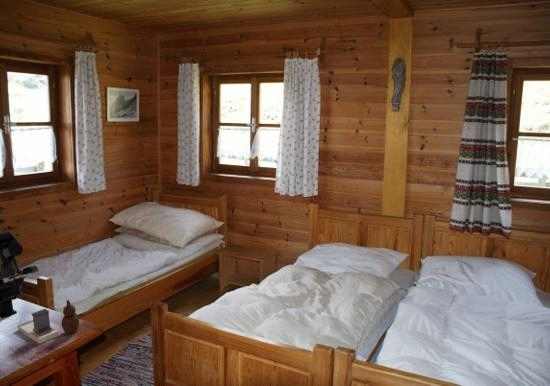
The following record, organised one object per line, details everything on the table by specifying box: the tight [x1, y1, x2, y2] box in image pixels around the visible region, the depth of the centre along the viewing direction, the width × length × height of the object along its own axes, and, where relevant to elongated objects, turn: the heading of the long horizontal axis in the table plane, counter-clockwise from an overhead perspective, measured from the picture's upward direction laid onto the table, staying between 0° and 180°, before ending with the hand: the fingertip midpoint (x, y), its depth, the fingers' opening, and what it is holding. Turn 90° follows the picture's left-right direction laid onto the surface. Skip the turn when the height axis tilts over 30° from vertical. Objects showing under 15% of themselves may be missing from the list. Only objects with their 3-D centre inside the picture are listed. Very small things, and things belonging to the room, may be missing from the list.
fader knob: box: [31, 308, 52, 335], centre depth 189 cm, size 6×5×8 cm
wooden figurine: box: [61, 300, 80, 334], centre depth 193 cm, size 7×6×15 cm
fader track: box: [17, 319, 60, 344], centre depth 193 cm, size 18×8×2 cm, turn 53°
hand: (19, 295), depth 198 cm, fingers closed
